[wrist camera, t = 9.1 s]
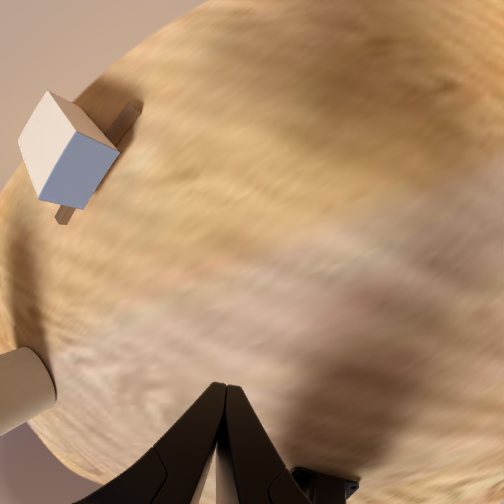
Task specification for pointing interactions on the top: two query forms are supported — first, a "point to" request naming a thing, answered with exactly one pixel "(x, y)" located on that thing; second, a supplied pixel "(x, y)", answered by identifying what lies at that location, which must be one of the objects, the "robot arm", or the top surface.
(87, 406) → the top surface
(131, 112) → the strip
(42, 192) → the plain white block
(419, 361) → the top surface
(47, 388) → the beige jar
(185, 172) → the top surface
